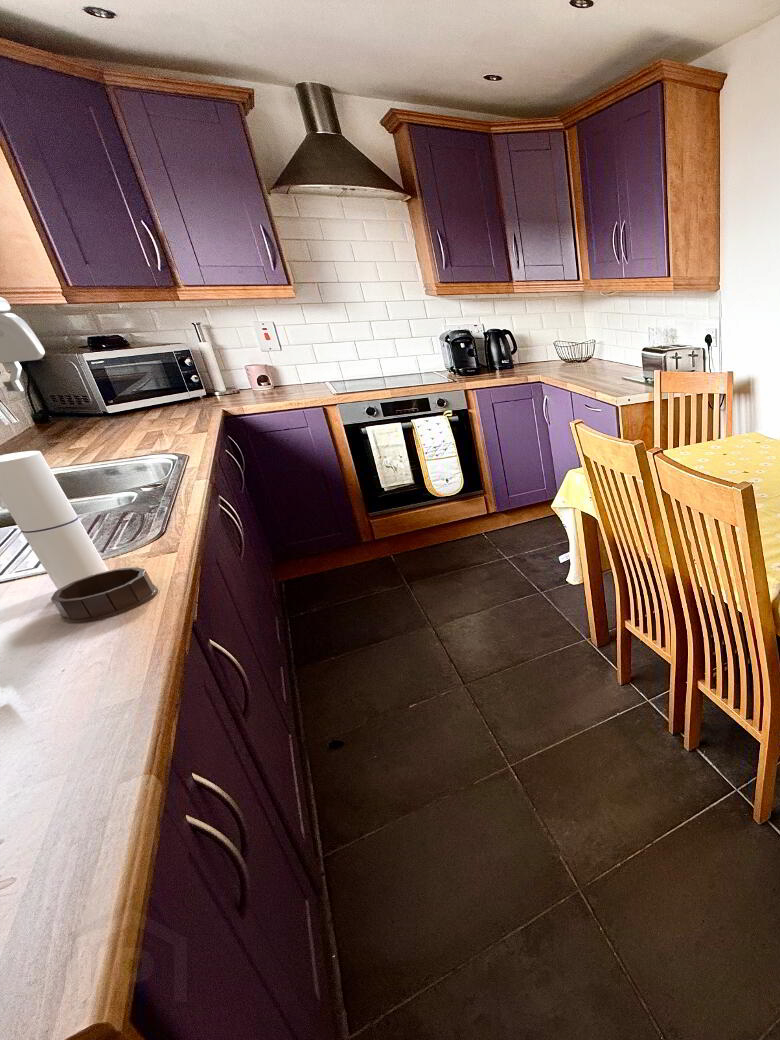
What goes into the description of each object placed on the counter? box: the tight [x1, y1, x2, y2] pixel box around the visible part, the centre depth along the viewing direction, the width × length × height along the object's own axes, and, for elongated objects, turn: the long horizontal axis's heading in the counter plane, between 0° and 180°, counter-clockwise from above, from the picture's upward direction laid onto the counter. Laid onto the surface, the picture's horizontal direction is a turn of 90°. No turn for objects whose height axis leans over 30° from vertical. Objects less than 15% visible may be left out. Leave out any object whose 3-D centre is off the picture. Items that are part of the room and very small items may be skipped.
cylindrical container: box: [0, 450, 109, 590], centre depth 103 cm, size 7×7×25 cm
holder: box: [50, 566, 159, 624], centre depth 101 cm, size 12×12×4 cm
